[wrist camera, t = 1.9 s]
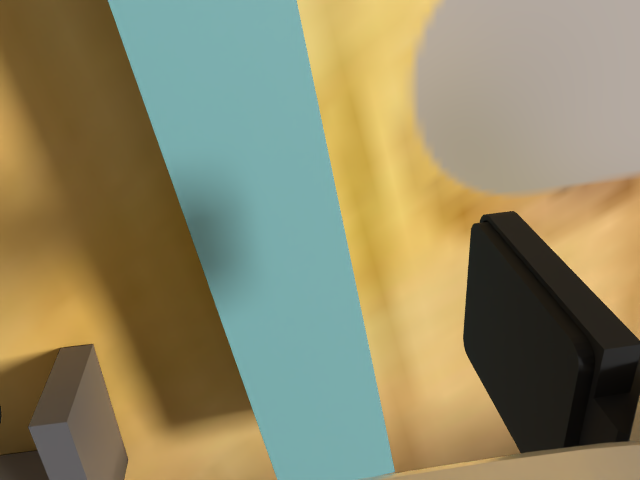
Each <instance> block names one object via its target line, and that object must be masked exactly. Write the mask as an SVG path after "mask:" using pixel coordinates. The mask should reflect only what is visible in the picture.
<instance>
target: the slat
mask: <svg viewBox="0 0 640 480" xmlns="http://www.w3.org/2000/svg"><path fill="white" fill-rule="evenodd" d="M108 2H109V5H110V8H111V11H112V14H113V17H114V19H115V22H116V25H117V28H118V31H119V34H120V36H121V39H122V42H123V45H124V48H125V50H126V53H127V56H128V59H129V62H130V65H131V67H132V70H133V73H134V76H135V79H136V82H137V84H138V87H139V90H140V93H141V96H142V98H143V101H144V104H145V107H146V110H147V113H148V115H149V118H150V121H151V124H152V127H153V130H154V132H155V135H156V138H157V141H158V144H159V147H160V149H161V152H162V155H163V158H164V161H165V163H166V166H167V169H168V172H169V175H170V178H171V180H172V183H173V186H174V189H175V192H176V195H177V197H178V200H179V203H180V206H181V209H182V212H183V214H184V217H185V220H186V223H187V226H188V228H189V231H190V234H191V237H192V240H193V243H194V245H195V248H196V251H197V254H198V257H199V260H200V262H201V265H202V268H203V271H204V274H205V276H206V279H207V282H208V285H209V288H210V291H211V293H212V296H213V299H214V302H215V305H216V308H217V310H218V313H219V316H220V319H221V322H222V325H223V327H224V330H225V333H226V336H227V339H228V341H229V344H230V347H231V350H232V353H233V356H234V358H235V361H236V364H237V367H238V370H239V373H240V375H241V378H242V381H243V384H244V387H245V390H246V392H247V395H248V398H249V401H250V404H251V406H252V409H253V412H254V415H255V418H256V421H257V423H258V426H259V429H260V432H261V435H262V438H263V440H264V443H265V446H266V449H267V452H268V454H269V457H270V460H271V463H272V466H273V469H274V471H275V474H276V477H277V480H356V479H362V478H368V477H375V476H380V475H384V474H389V473H393V472H395V469H394V465H393V460H392V455H391V450H390V446H389V441H388V436H387V431H386V426H385V422H384V417H383V412H382V407H381V403H380V398H379V393H378V388H377V383H376V379H375V374H374V369H373V364H372V359H371V355H370V350H369V345H368V340H367V336H366V331H365V326H364V321H363V316H362V312H361V307H360V302H359V297H358V292H357V288H356V283H355V278H354V273H353V269H352V264H351V259H350V254H349V249H348V245H347V240H346V235H345V230H344V226H343V221H342V216H341V211H340V206H339V202H338V197H337V192H336V187H335V182H334V178H333V173H332V168H331V163H330V159H329V154H328V149H327V144H326V139H325V135H324V130H323V125H322V120H321V115H320V111H319V106H318V101H317V96H316V92H315V87H314V82H313V77H312V72H311V68H310V63H309V58H308V53H307V48H306V44H305V39H304V34H303V29H302V25H301V20H300V15H299V10H298V5H297V1H296V0H108Z"/></svg>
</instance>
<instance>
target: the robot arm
mask: <svg viewBox="0 0 640 480" xmlns="http://www.w3.org/2000/svg"><path fill="white" fill-rule="evenodd" d="M463 341H464V347H465V351H466V354H467V356H468V358H469V360H470V362H471V363H472V365H473V367H474V369H475V371H476V372H477V374H478V376H479V378H480V380H481V382H482V383H483V385H484V387H485V389H486V391H487V392H488V394H489V396H490V398H491V400H492V401H493V403H494V405H495V407H496V409H497V411H498V412H499V414H500V416H501V418H502V420H503V421H504V423H505V425H506V427H507V429H508V430H509V432H510V434H511V436H512V438H513V439H514V441H515V443H516V445H517V447H518V449H519V450H520V452H521V453H520V454H514V455H508V456H502V457H496V458H489V459H482V460H476V461H469V462H462V463H456V464H450V465H443V466H437V467H431V468H425V469H418V470H412V471H406V472H400V473H393V474H387V475H381V476H375V477H368V478H362V479H356V480H640V340H639V339H638V338H637V337H636V336H635V335H634V334H633V333H632V332H631V331H630V330H629V329H628V328H627V327H626V326H625V325H624V324H623V323H622V322H621V321H620V320H619V319H618V318H617V317H616V315H615V314H614V313H613V312H612V311H611V310H610V309H609V308H608V307H607V306H606V305H605V304H604V303H603V302H602V301H601V300H600V299H599V298H598V297H597V296H596V295H595V294H594V293H593V292H592V291H591V290H590V289H589V288H588V286H587V285H586V284H585V283H584V282H583V281H582V280H581V279H580V278H579V277H578V276H577V275H576V274H575V273H574V272H573V271H572V270H571V269H570V268H569V267H568V266H567V265H566V264H565V263H564V262H563V261H562V260H561V259H560V257H559V256H558V255H557V254H556V253H555V252H554V251H553V250H552V249H551V248H550V247H549V246H548V245H547V244H546V243H545V242H544V241H543V240H542V239H541V238H540V237H539V236H538V235H537V234H536V233H535V232H534V231H533V230H532V228H531V227H530V226H529V225H528V224H527V223H526V222H525V221H524V220H523V219H522V218H521V217H520V216H519V215H518V214H517V213H516V212H514V211H510V212H502V213H494V214H486V215H483V216H482V217H481V220H480V223H475V224H473V226H472V228H471V238H470V251H469V265H468V279H467V292H466V306H465V320H464V334H463ZM0 423H1V406H0Z"/></svg>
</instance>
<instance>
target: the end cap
mask: <svg viewBox="0 0 640 480" xmlns="http://www.w3.org/2000/svg"><path fill="white" fill-rule="evenodd" d="M28 428H29V430H30V433H31V435H32V438H33V440H34V443H35V445H36V448H37V450H38V451H31V452H23V453H16V454H8V455H0V480H124V478H125V473H126V468H127V463H128V457H127V454H126V451H125V447H124V444H123V441H122V437H121V434H120V431H119V428H118V424H117V421H116V418H115V414H114V411H113V408H112V405H111V401H110V398H109V395H108V391H107V388H106V385H105V382H104V378H103V375H102V372H101V368H100V365H99V362H98V359H97V355H96V352H95V349H94V345H93V344H91V345H83V346H75V347H66V348H60V351H59V353H58V356H57V358H56V361H55V363H54V365H53V368H52V370H51V373H50V375H49V378H48V380H47V382H46V385H45V387H44V390H43V392H42V395H41V397H40V399H39V402H38V404H37V407H36V409H35V412H34V414H33V416H32V419H31V421H30V424H29V426H28Z"/></svg>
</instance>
